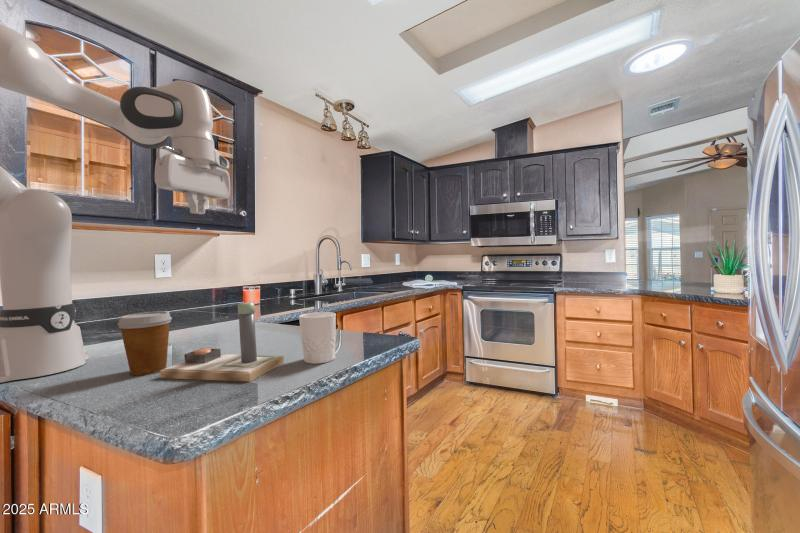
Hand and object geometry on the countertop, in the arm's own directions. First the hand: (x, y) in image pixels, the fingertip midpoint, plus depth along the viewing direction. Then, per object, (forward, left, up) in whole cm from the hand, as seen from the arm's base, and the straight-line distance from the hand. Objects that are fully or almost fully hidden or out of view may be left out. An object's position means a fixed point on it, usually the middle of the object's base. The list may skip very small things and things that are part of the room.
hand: (197, 213), depth 89 cm
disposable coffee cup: (-4, -12, -34) cm, 37 cm away
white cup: (+30, -1, -34) cm, 46 cm away
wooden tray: (+13, -10, -34) cm, 38 cm away
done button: (+7, -9, -32) cm, 34 cm away
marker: (+18, -9, -32) cm, 38 cm away
